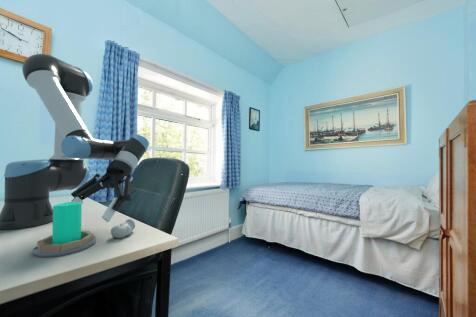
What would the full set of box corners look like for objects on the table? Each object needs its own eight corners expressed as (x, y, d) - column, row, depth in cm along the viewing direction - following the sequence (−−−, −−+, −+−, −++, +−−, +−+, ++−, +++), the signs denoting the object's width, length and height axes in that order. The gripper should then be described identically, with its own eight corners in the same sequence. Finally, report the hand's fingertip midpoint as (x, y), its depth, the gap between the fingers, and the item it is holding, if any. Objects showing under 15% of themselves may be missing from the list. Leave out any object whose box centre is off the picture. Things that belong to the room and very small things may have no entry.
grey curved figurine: (120, 244, 60) (105, 237, 61) (138, 234, 68) (125, 228, 69) (123, 230, 60) (109, 224, 61) (142, 222, 68) (129, 216, 69)
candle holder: (29, 247, 55) (29, 238, 55) (88, 234, 65) (88, 227, 65) (37, 262, 46) (37, 252, 46) (103, 245, 56) (103, 236, 56)
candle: (68, 247, 53) (69, 200, 53) (45, 247, 53) (46, 200, 53) (86, 239, 59) (87, 196, 59) (65, 239, 59) (66, 196, 59)
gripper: (157, 173, 77) (129, 227, 61) (98, 173, 81) (58, 222, 66) (149, 158, 71) (116, 213, 56) (86, 159, 76) (40, 209, 61)
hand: (84, 218), depth 61 cm, fingers open, 13 cm apart
